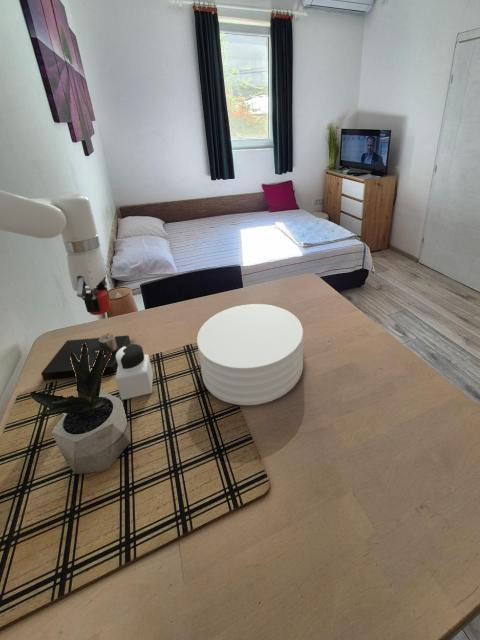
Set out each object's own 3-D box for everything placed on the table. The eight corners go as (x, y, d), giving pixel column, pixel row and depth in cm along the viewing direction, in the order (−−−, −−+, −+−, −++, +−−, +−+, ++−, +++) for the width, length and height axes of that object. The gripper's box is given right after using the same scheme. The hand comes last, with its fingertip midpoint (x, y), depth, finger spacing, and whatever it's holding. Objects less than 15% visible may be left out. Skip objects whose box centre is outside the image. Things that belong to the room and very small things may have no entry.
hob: (43, 380, 87) (40, 372, 86) (69, 347, 100) (66, 339, 99) (118, 373, 89) (116, 365, 88) (134, 341, 102) (132, 334, 101)
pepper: (86, 315, 87) (79, 294, 85) (94, 305, 92) (88, 284, 89) (106, 314, 88) (100, 292, 85) (113, 304, 92) (108, 283, 90)
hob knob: (115, 354, 93) (111, 340, 91) (100, 356, 92) (96, 342, 90) (119, 345, 96) (115, 332, 94) (105, 347, 96) (101, 333, 94)
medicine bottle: (153, 374, 89) (145, 338, 84) (151, 393, 82) (143, 355, 78) (124, 380, 87) (114, 344, 82) (121, 401, 80) (110, 362, 76)
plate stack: (214, 421, 74) (209, 383, 70) (194, 349, 98) (189, 317, 94) (321, 383, 85) (322, 347, 80) (279, 326, 108) (278, 296, 104)
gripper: (82, 233, 90) (97, 291, 97) (47, 257, 74) (68, 324, 81) (110, 232, 91) (124, 290, 97) (82, 256, 75) (100, 322, 82)
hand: (98, 305), depth 89 cm, fingers closed on pepper, 5 cm apart
